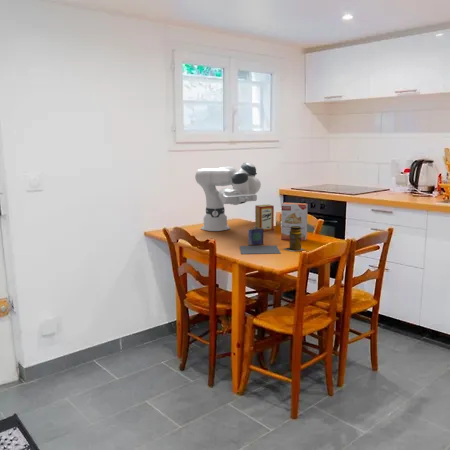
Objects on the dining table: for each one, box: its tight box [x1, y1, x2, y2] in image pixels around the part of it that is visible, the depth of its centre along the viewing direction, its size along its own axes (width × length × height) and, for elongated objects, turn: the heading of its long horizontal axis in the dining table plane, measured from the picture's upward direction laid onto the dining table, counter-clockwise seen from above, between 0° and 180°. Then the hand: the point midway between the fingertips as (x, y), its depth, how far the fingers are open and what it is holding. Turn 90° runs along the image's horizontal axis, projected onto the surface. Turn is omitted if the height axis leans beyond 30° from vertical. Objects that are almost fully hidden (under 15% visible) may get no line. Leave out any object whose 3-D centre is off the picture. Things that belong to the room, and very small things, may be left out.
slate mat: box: [239, 244, 282, 255], centre depth 247 cm, size 17×20×1 cm
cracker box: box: [280, 202, 309, 242], centre depth 269 cm, size 14×6×21 cm, turn 70°
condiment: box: [283, 226, 305, 253], centre depth 246 cm, size 7×8×12 cm
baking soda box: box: [254, 204, 275, 232], centre depth 298 cm, size 10×6×16 cm
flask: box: [247, 224, 264, 246], centre depth 257 cm, size 9×3×11 cm, turn 117°
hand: (246, 199), depth 263 cm, fingers closed
